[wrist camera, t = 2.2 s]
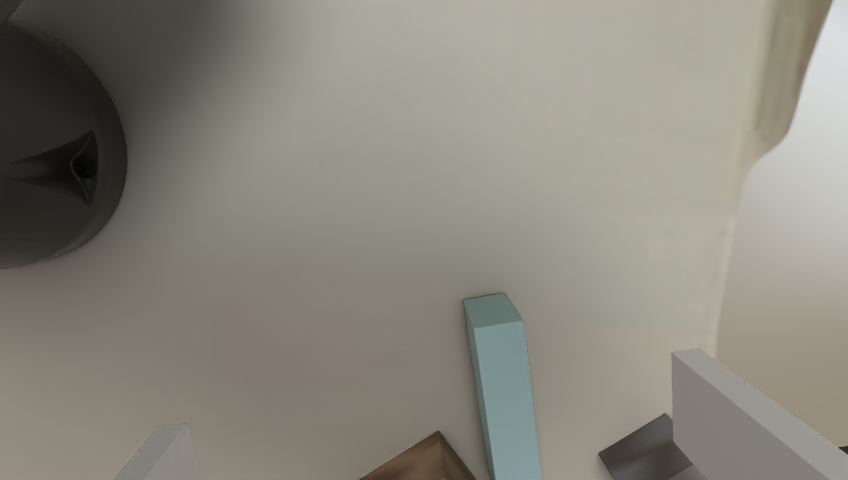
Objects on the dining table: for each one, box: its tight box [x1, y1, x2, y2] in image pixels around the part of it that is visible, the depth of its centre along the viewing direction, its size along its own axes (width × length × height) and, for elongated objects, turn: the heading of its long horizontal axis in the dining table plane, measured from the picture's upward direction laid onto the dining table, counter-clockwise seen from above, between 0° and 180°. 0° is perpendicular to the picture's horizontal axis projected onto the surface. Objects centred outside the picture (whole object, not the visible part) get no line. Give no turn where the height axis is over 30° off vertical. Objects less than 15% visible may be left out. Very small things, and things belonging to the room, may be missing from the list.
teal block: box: [463, 293, 542, 480], centre depth 32 cm, size 14×3×5 cm, turn 9°
